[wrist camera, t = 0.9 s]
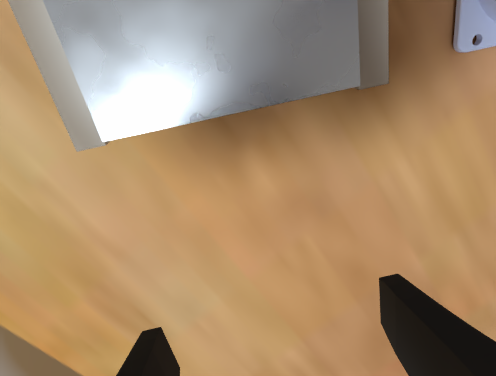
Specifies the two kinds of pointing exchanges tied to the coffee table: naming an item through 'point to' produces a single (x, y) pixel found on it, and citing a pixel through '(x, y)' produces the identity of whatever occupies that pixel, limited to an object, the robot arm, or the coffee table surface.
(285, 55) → the grey piece
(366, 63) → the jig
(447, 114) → the coffee table surface
